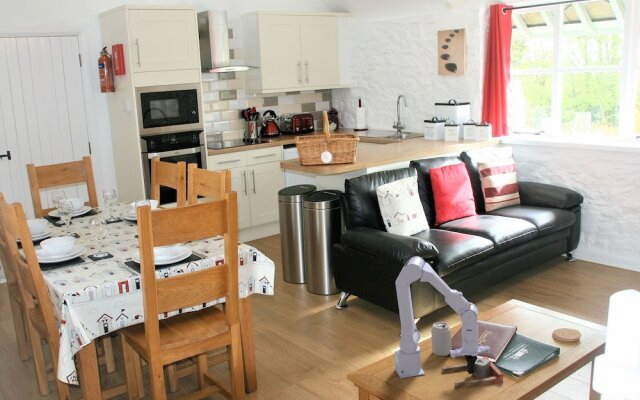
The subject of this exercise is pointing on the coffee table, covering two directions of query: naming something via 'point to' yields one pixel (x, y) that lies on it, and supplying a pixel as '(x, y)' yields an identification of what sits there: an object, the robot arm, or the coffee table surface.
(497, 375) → the guide channel
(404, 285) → the robot arm
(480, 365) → the dice cube
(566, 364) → the coffee table surface
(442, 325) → the can
